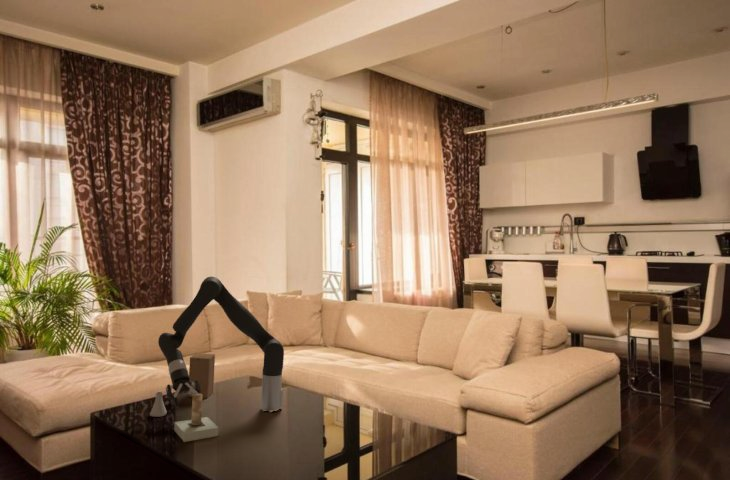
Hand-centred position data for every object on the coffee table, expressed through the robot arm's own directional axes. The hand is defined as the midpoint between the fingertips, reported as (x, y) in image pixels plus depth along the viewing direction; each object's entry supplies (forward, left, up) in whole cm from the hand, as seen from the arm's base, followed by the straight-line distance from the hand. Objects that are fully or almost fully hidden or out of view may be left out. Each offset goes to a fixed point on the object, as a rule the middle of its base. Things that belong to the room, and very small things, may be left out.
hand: (187, 404), depth 236 cm
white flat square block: (-1, +11, -9) cm, 14 cm away
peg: (-1, +11, -9) cm, 14 cm away
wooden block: (-19, -38, -9) cm, 44 cm away
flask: (+7, -18, -9) cm, 22 cm away
